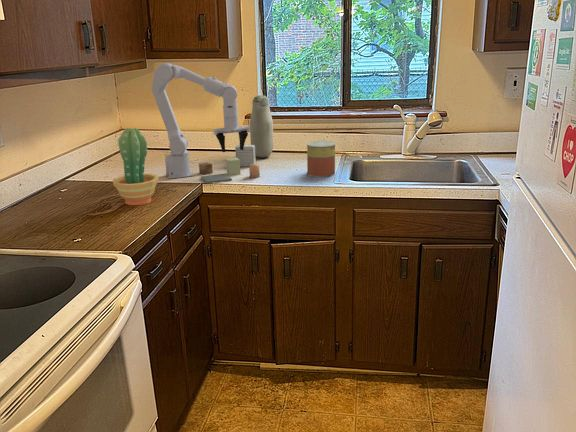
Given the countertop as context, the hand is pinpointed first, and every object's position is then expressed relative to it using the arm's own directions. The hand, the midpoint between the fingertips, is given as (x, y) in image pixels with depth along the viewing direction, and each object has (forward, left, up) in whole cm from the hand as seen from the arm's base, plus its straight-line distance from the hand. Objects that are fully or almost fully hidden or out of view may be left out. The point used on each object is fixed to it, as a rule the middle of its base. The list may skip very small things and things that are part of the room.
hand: (232, 150), depth 214 cm
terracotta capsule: (+6, -9, -9) cm, 14 cm away
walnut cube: (-10, +6, -10) cm, 15 cm away
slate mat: (-9, -6, -9) cm, 15 cm away
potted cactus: (-41, -22, -10) cm, 48 cm away
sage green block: (0, 0, -9) cm, 9 cm away
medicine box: (+9, +11, -10) cm, 17 cm away
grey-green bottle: (+21, +23, -10) cm, 32 cm away
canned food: (+32, -16, -10) cm, 37 cm away
